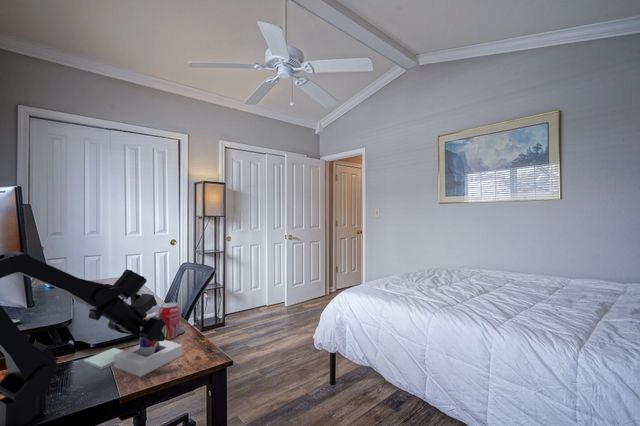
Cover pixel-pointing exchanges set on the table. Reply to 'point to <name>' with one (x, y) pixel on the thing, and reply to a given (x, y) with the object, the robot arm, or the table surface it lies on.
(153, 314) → the supplement bottle
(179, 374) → the table surface
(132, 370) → the well board
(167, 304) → the soda can
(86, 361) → the pad
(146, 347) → the energy drink
